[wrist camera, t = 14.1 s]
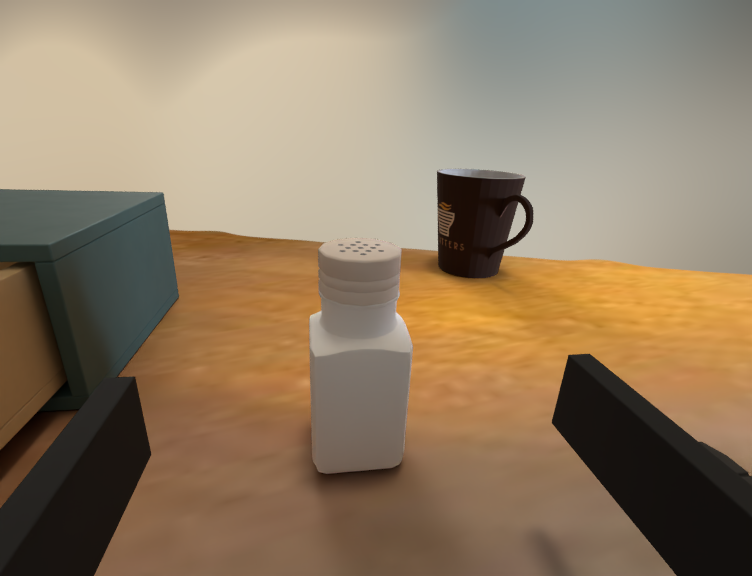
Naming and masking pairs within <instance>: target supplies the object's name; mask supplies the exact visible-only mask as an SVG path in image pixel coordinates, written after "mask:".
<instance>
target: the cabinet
mask: <svg viewBox="0 0 752 576" xmlns="http://www.w3.org/2000/svg"><path fill="white" fill-rule="evenodd" d="M0 262H35V267H36V271H37V274H38V278H39V281H40V285H41V288H42V292H43V295H44V299H45V302H46V306H47V309H48V313H49V317H50V320H51V324H52V327H53V331H54V334H55V338H56V341H57V345H58V348H59V352H60V355H61V359H62V362H63V366H64V369H65V373H66V376H67V381H66V382H65V383H64V384H63V385H62V386H61V387H60V388H59V389H58V390H57V392H56V393H55V394H54V395H53V396H52V397H51V398H50V399H49V400H48V401H47V402H46V403H45V404H44V405H43V406H42V407H41V408H40V409H39V410H38V411H56V410H74V409H80V408H81V407H82V406H83V404H84V403H85V402H86V401H87V399H88V398H89V397H90V396H91V394H92V393H93V392H94V391H95V389H96V388H97V387H98V386H99V384H100V383H101V382H102V381H103V379H104V378H116V377H117V376H118V374H119V373H120V372H121V371H122V369H123V368H124V367H125V365H126V364H127V363H128V362H129V360H130V359H131V358H132V356H133V355H134V354H135V352H136V351H137V350H138V349H139V347H140V346H141V345H142V343H143V342H144V341H145V340H146V338H147V337H148V336H149V334H150V333H151V332H152V331H153V329H154V328H155V327H156V325H157V324H158V323H159V321H160V320H161V319H162V318H163V316H164V315H165V314H166V312H167V311H168V310H169V309H170V307H171V306H172V305H173V303H174V302H175V301H176V299H177V298H178V297H179V294H178V289H177V280H176V273H175V267H174V260H173V253H172V247H171V240H170V233H169V227H168V220H167V213H166V206H165V200H164V194H163V193H162V192H114V191H110V192H109V191H61V190H60V191H59V190H9V189H0ZM38 411H37V412H38Z"/></svg>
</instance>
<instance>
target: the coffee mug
mask: <svg viewBox="0 0 752 576" xmlns="http://www.w3.org/2000/svg"><path fill="white" fill-rule="evenodd" d="M524 180H525V176H524V175H520V174H515V173H509V172H501V171H490V170H476V169H441V170H438V171H437V196H438V265H439V268H440V269H441V270H443V271H445V272H447V273H449V274H453V275H456V276H461V277H468V278H487V277H491V276H494V275H496V274H497V273H498V270H499V266H500V263H501V260H502V256H503V253H504V249H506V248H508V247H510V246H512V245H514V244H516V243H518V242H519V241H520V240H521V239H522V238H524V237H525V235H526V234H527V233H528V232H529V231H530V229H531V227H532V224H533V207H532V205H531V204H530V202H529V201H528V200H527V199H526V198H525V197H523V196H522V195H521V191H522V188H523V184H524ZM518 202H519V203H521V204H522V206H523V207H524V209H525V212H526V222H525V225H524V227H523V229H522V230H521V231H520V232H519V233H518V235H517V236H516V237H514V238H513V239H511V240H509V241H507V239H508V235H509V232H510V229H511V225H512V222H513V219H514V215H515V211H516V208H517V205H518Z"/></svg>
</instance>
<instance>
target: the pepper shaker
mask: <svg viewBox="0 0 752 576" xmlns="http://www.w3.org/2000/svg"><path fill="white" fill-rule="evenodd" d="M400 264H401V248H399V247H397V246H396V245H394V244H392V243H390V242H386V241H381V240H376V239H367V238H346V239H337V240H334V241H330V242H326V243H324V244H323V245H322V246H321V247H320V248H319V250H318V267H319V268H320V269H319V278H320V279H319V295H320V297H321V311H320V312H318V313H316V314H313V315H311V316H310V319H309V332H310V387H311V433H312V460H313V462H314V464H315V465H316V467H317V470H318V472H322V473H325V474H330V473H341V472H352V471H363V470H374V469H385V468H393V467H395V466H397V465H399V464H400V462H401V461H402V458H403V454H404V445H405V434H406V422H407V410H408V399H409V387H410V375H411V364H412V352H413V345H412V342H411V338H410V335H409V332H408V330H407V327H406V325H405V323H404V321H403V319H402V318H401V316H400V315H399V314H398V313H397V312H396V303H397V299H398V297H399V295H400V293H399V278H400Z"/></svg>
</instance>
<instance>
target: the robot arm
mask: <svg viewBox="0 0 752 576" xmlns="http://www.w3.org/2000/svg"><path fill="white" fill-rule="evenodd" d="M552 424H553V425H554V426H555V427H556V429H557V430H558V431H559V432H560V434H561V435H562V436H563V437H564V438H565V440H566V441H567V442H568V443H569V445H570V446H571V447H572V448H573V449H574V451H575V452H576V453H577V454H578V456H579V457H580V458H581V459H582V460H583V462H584V463H585V464H586V465H587V467H588V468H589V469H590V470H591V471H592V473H593V474H594V475H595V476H596V477H597V479H598V480H599V481H600V482H601V484H602V485H603V486H604V487H605V488H606V490H607V491H608V492H609V493H610V495H611V496H612V497H613V498H614V499H615V501H616V502H617V503H618V504H619V506H620V507H621V508H622V509H623V510H624V512H625V513H626V514H627V515H628V517H629V518H630V519H631V520H632V521H633V523H634V524H635V525H636V526H637V528H638V529H639V530H640V531H641V532H642V534H643V535H644V536H645V537H646V538H647V540H648V541H649V542H650V543H651V545H652V546H653V547H654V548H655V549H656V551H657V552H658V553H659V554H660V556H661V557H662V558H663V559H664V560H665V562H666V563H667V564H668V565H669V567H670V568H671V569H672V570H673V571H674V573H675V574H676V575H677V576H752V476H749V474H748V472H747V471H745V470H744V469H743V468H742V467H740V466H739V465H738V464H737V463H735V462H734V461H733V460H732V459H730V458H729V457H728V456H726V455H725V454H723V453H721V452H719V451H717V450H716V449H714V448H712V447H710V446H708V445H707V444H705V443H703V442H698V441H696V440H695V439H694V438H693V437H692V436H690V435H689V434H688V433H687V432H685V431H684V430H683V429H682V428H680V427H679V426H678V425H677V424H676V423H674V422H673V421H672V420H671V419H669V418H668V417H667V416H666V415H664V414H663V413H662V412H661V411H659V410H658V409H657V408H656V407H655V406H653V405H652V404H651V403H650V402H648V401H647V400H646V399H645V398H643V397H642V396H641V395H640V394H639V393H637V392H636V391H635V390H634V389H632V388H631V387H630V386H629V385H627V384H626V383H625V382H624V381H623V380H621V379H620V378H619V377H618V376H616V375H615V374H614V373H613V372H611V371H610V370H609V369H608V368H607V367H605V366H604V365H603V364H602V363H600V362H599V361H598V360H597V359H595V358H594V357H593V356H592V355H590V354H577V355H568V359H567V363H566V367H565V371H564V375H563V379H562V383H561V387H560V391H559V395H558V399H557V403H556V407H555V411H554V415H553V419H552ZM150 456H151V451H150V446H149V441H148V436H147V432H146V427H145V422H144V417H143V413H142V408H141V403H140V398H139V394H138V389H137V384H136V379H135V377H118V378H104V379H103V381H102V382H101V383H100V384H99V386H98V387H97V388H96V389H95V391H94V392H93V393H92V394H91V396H90V397H89V398H88V399H87V401H86V402H85V403H84V404H83V406H82V407H81V408H80V409H79V411H78V412H77V413H76V414H75V416H74V417H73V418H72V419H71V421H70V422H69V423H68V424H67V426H66V427H65V428H64V429H63V431H62V432H61V433H60V434H59V436H58V437H57V438H56V439H55V441H54V442H53V443H52V444H51V446H50V447H49V448H48V449H47V451H46V452H45V453H44V454H43V456H42V457H41V458H40V459H39V461H38V462H37V463H36V464H35V466H34V467H33V468H32V469H31V471H30V472H29V473H28V475H27V476H26V477H25V478H24V480H23V481H22V482H21V483H20V485H19V486H18V487H17V488H16V490H15V491H14V492H13V493H12V495H11V496H10V497H9V498H8V500H7V501H6V502H5V503H4V505H3V506H2V507H1V508H0V576H94V574H95V572H96V570H97V568H98V566H99V564H100V562H101V560H102V557H103V555H104V553H105V551H106V549H107V547H108V545H109V543H110V541H111V538H112V536H113V534H114V532H115V530H116V528H117V526H118V524H119V522H120V519H121V517H122V515H123V513H124V511H125V509H126V507H127V505H128V503H129V500H130V498H131V496H132V494H133V492H134V490H135V488H136V486H137V483H138V481H139V479H140V477H141V475H142V473H143V471H144V469H145V467H146V464H147V462H148V460H149V458H150Z"/></svg>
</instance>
